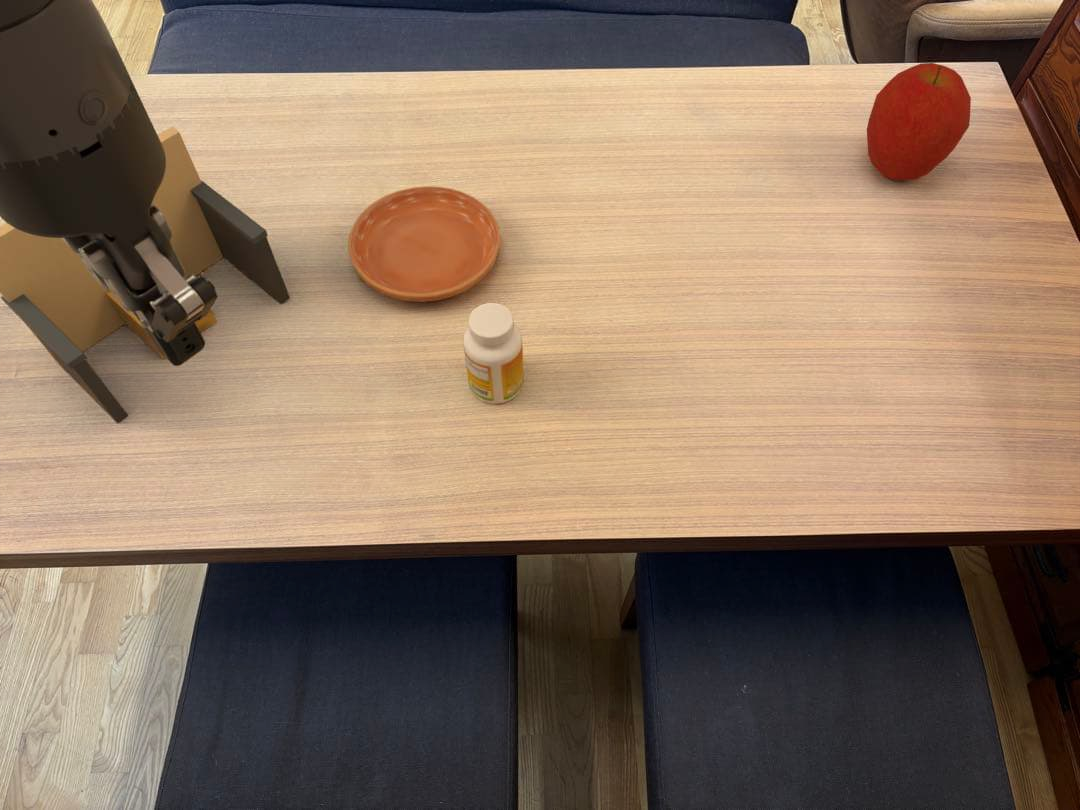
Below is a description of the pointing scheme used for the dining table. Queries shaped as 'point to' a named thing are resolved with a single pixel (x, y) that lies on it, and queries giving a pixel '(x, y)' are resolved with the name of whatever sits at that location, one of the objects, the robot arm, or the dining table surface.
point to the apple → (917, 121)
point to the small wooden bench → (82, 303)
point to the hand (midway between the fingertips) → (184, 350)
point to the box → (139, 330)
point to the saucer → (424, 243)
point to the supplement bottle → (493, 354)
